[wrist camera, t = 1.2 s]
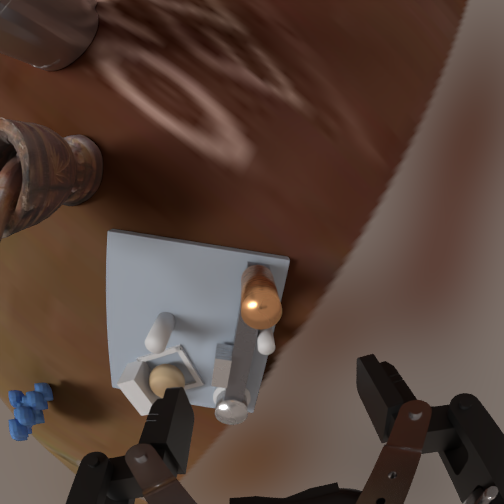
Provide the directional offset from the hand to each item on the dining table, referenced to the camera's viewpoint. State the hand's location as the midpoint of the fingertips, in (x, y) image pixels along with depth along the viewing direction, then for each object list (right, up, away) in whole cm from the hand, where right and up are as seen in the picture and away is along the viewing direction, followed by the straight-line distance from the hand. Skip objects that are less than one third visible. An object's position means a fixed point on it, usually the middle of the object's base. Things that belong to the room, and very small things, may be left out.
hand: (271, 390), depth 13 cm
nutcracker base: (-8, -2, +19) cm, 21 cm away
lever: (-2, -3, +18) cm, 18 cm away
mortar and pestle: (-18, +14, +15) cm, 27 cm away
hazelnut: (-10, -7, +19) cm, 23 cm away
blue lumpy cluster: (-32, -14, +22) cm, 41 cm away
